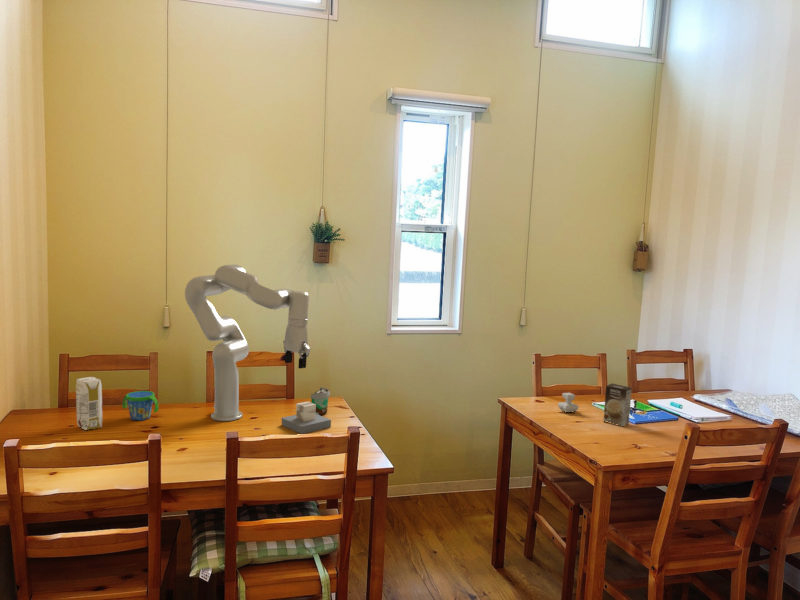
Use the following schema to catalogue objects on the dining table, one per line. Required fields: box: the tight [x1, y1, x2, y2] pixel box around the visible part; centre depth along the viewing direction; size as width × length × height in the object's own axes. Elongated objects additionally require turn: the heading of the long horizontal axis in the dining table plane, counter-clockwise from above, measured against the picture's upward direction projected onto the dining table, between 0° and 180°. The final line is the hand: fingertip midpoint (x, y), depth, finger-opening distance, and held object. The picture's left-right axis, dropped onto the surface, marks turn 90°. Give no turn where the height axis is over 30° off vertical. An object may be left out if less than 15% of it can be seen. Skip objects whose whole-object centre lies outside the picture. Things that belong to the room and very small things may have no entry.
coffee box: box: [603, 383, 632, 427], centre depth 254 cm, size 9×6×16 cm
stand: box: [281, 414, 332, 435], centre depth 238 cm, size 14×14×3 cm
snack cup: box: [121, 390, 160, 421], centre depth 241 cm, size 16×10×10 cm
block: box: [295, 401, 316, 422], centre depth 237 cm, size 6×6×6 cm
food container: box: [310, 386, 331, 416], centre depth 255 cm, size 12×6×10 cm, turn 168°
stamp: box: [557, 392, 580, 413], centre depth 269 cm, size 9×7×8 cm
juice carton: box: [75, 376, 103, 431], centre depth 228 cm, size 8×9×19 cm
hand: (295, 365), depth 236 cm, fingers open, 9 cm apart
